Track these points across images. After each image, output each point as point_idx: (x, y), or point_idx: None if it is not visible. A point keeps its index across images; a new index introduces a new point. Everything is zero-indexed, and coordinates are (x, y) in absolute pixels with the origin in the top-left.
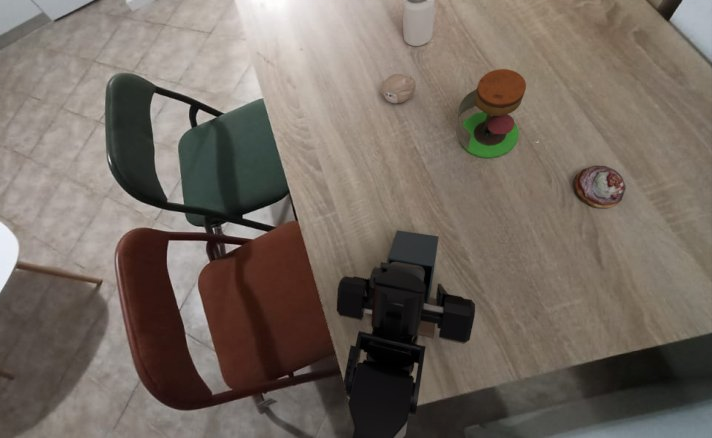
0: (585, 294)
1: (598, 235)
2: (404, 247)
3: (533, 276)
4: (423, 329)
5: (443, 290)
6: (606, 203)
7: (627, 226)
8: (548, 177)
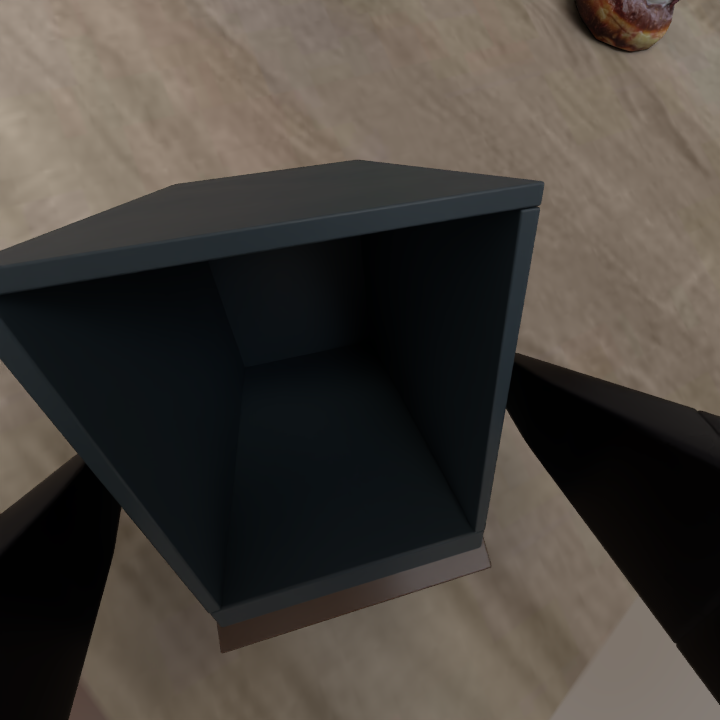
0: (711, 241)
1: (664, 107)
2: (204, 195)
3: (601, 238)
4: (447, 567)
5: (642, 401)
6: (660, 24)
7: (697, 76)
8: (519, 8)
